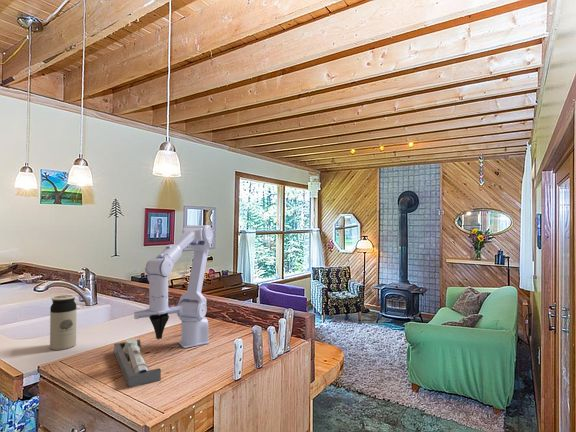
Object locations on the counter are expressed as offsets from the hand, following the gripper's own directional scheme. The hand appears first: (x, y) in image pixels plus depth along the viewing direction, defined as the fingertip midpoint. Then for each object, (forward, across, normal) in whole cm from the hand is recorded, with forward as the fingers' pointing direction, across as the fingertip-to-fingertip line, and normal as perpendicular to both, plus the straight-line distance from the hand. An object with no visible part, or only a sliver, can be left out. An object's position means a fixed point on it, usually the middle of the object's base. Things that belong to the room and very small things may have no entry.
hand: (158, 338), depth 114 cm
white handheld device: (+8, -7, 0) cm, 11 cm away
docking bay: (+8, -7, +2) cm, 11 cm away
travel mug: (+8, -26, +34) cm, 43 cm away
